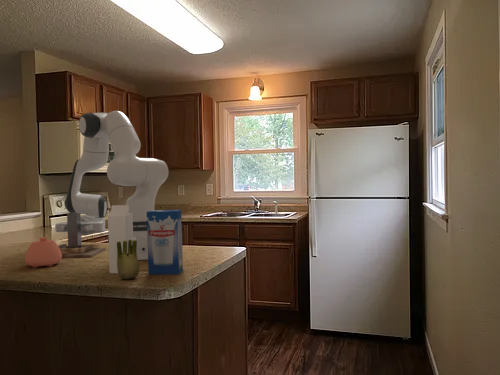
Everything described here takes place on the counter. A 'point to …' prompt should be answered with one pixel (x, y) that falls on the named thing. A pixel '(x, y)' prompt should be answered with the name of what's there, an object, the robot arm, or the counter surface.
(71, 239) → the bar
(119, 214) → the milk
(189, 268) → the counter surface
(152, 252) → the milk carton
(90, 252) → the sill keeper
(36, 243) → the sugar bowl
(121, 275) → the fennel bulb
